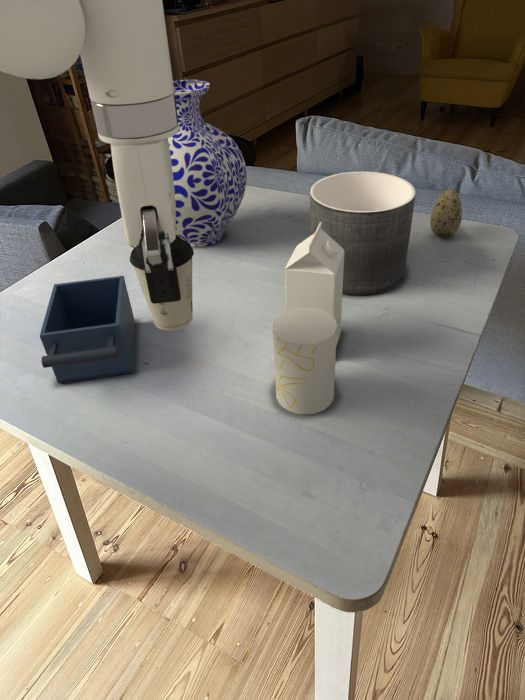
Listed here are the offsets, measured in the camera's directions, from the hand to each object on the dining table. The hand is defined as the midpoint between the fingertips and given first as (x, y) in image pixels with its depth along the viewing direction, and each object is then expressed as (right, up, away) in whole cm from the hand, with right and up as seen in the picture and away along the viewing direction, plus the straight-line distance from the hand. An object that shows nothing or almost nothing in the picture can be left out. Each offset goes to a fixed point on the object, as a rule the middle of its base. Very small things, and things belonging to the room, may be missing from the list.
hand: (166, 281), depth 60 cm
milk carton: (+19, -7, +24) cm, 32 cm away
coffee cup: (0, -4, +3) cm, 5 cm away
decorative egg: (+48, +16, +50) cm, 71 cm away
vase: (-2, +17, +56) cm, 58 cm away
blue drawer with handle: (-15, -9, +24) cm, 30 cm away
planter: (+29, +7, +41) cm, 51 cm away
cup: (+17, -14, +15) cm, 27 cm away
